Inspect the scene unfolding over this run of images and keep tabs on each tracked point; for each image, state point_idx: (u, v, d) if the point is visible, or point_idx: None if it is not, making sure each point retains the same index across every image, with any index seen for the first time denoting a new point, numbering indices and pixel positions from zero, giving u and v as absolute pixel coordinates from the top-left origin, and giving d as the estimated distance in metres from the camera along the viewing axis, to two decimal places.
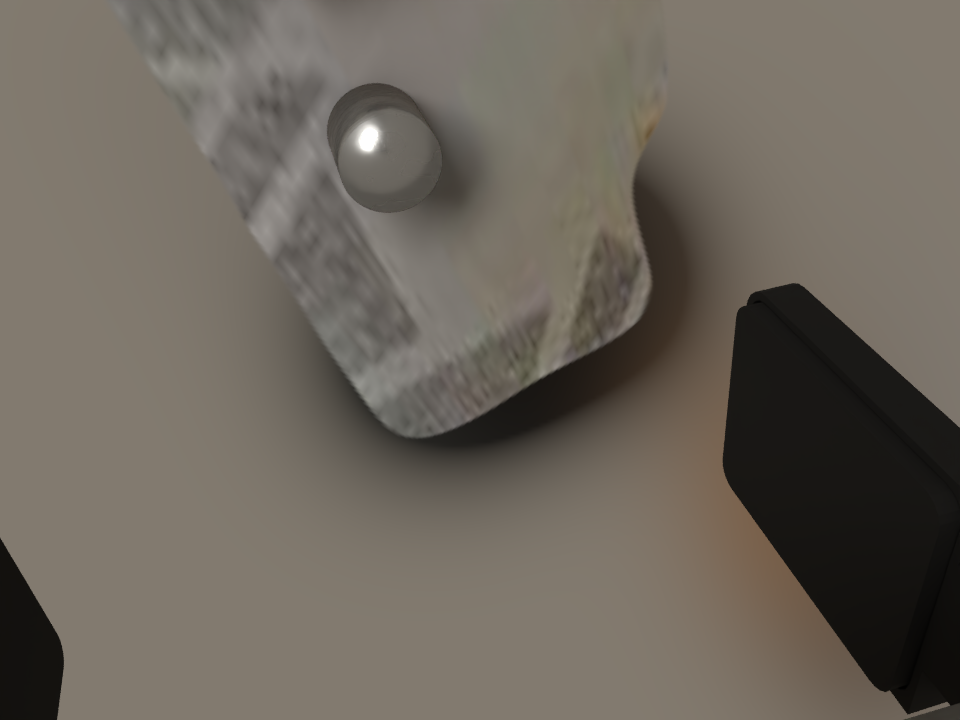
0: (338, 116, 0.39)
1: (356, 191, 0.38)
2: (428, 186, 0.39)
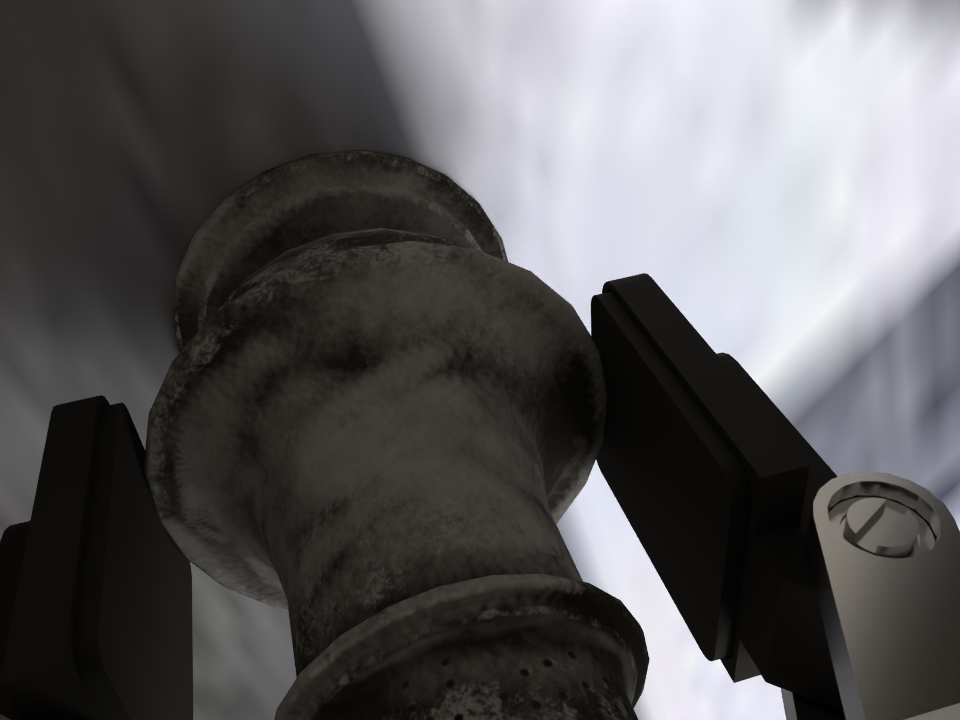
0: None
1: None
2: None
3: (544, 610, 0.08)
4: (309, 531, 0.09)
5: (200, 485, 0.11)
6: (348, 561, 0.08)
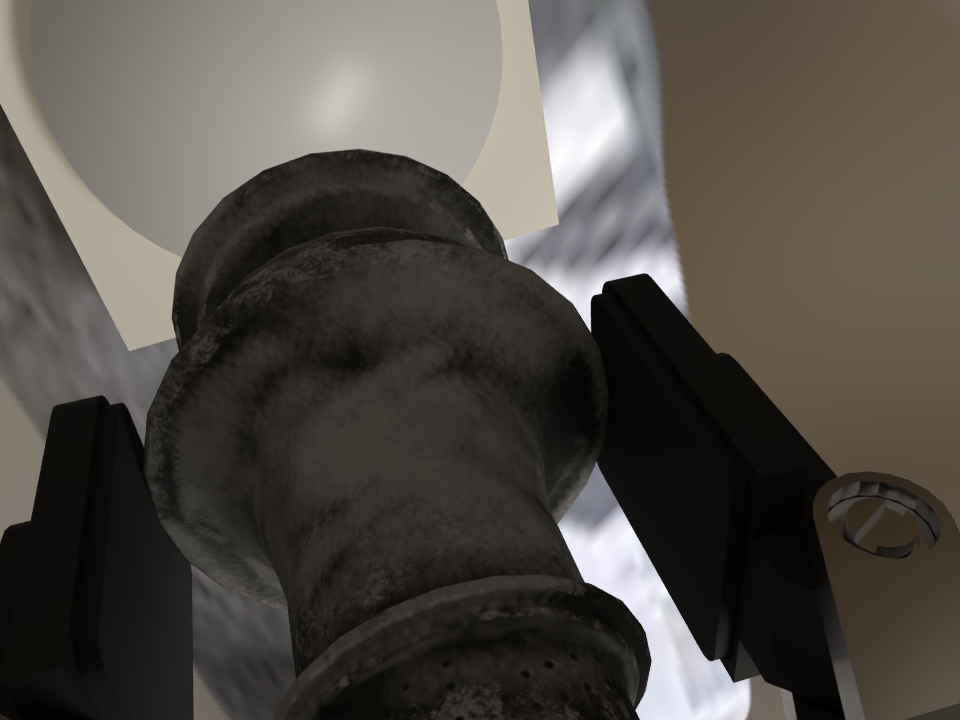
0: None
1: None
2: None
3: (545, 611, 0.07)
4: (309, 532, 0.09)
5: (199, 486, 0.10)
6: (347, 563, 0.08)
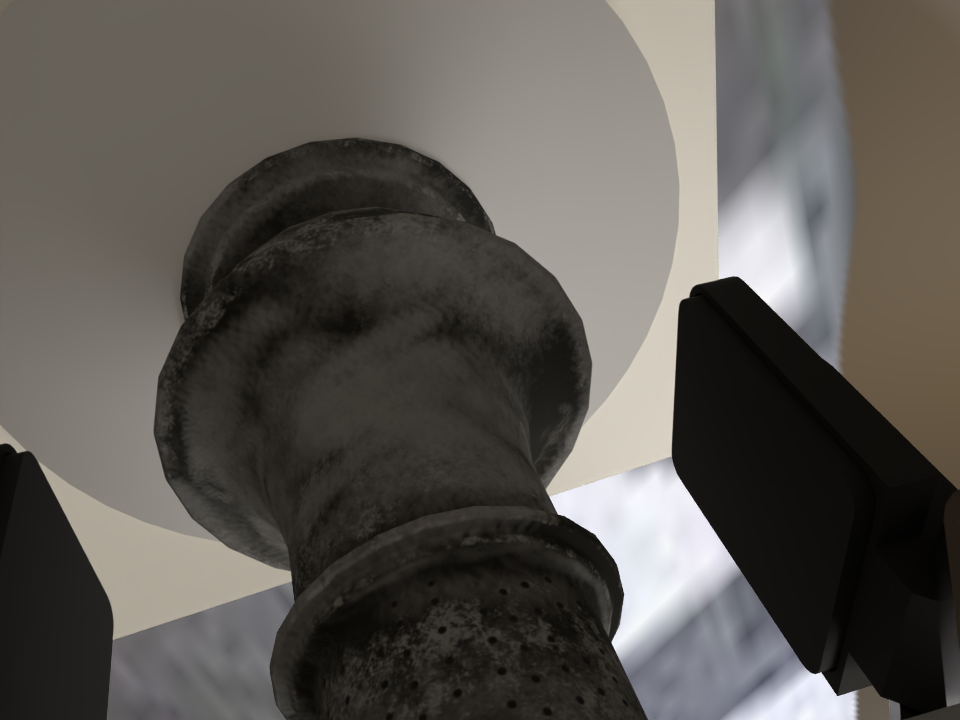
0: None
1: None
2: None
3: (521, 538, 0.08)
4: (308, 479, 0.10)
5: (206, 446, 0.11)
6: (342, 503, 0.09)
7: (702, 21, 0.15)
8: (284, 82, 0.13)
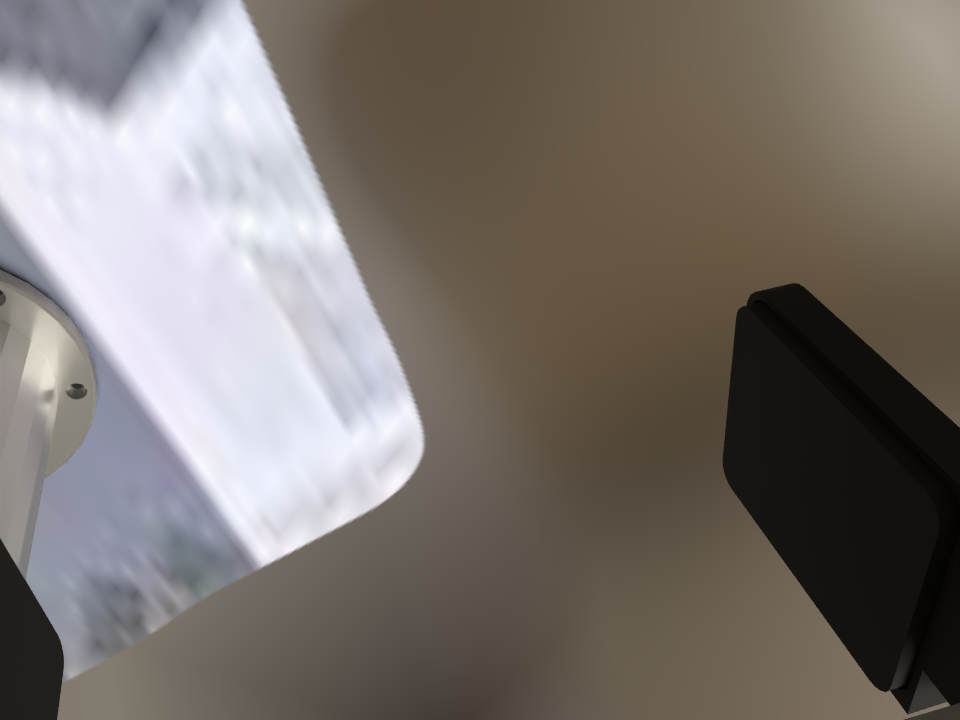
0: None
1: None
2: None
3: None
4: None
5: None
6: None
7: None
8: None
